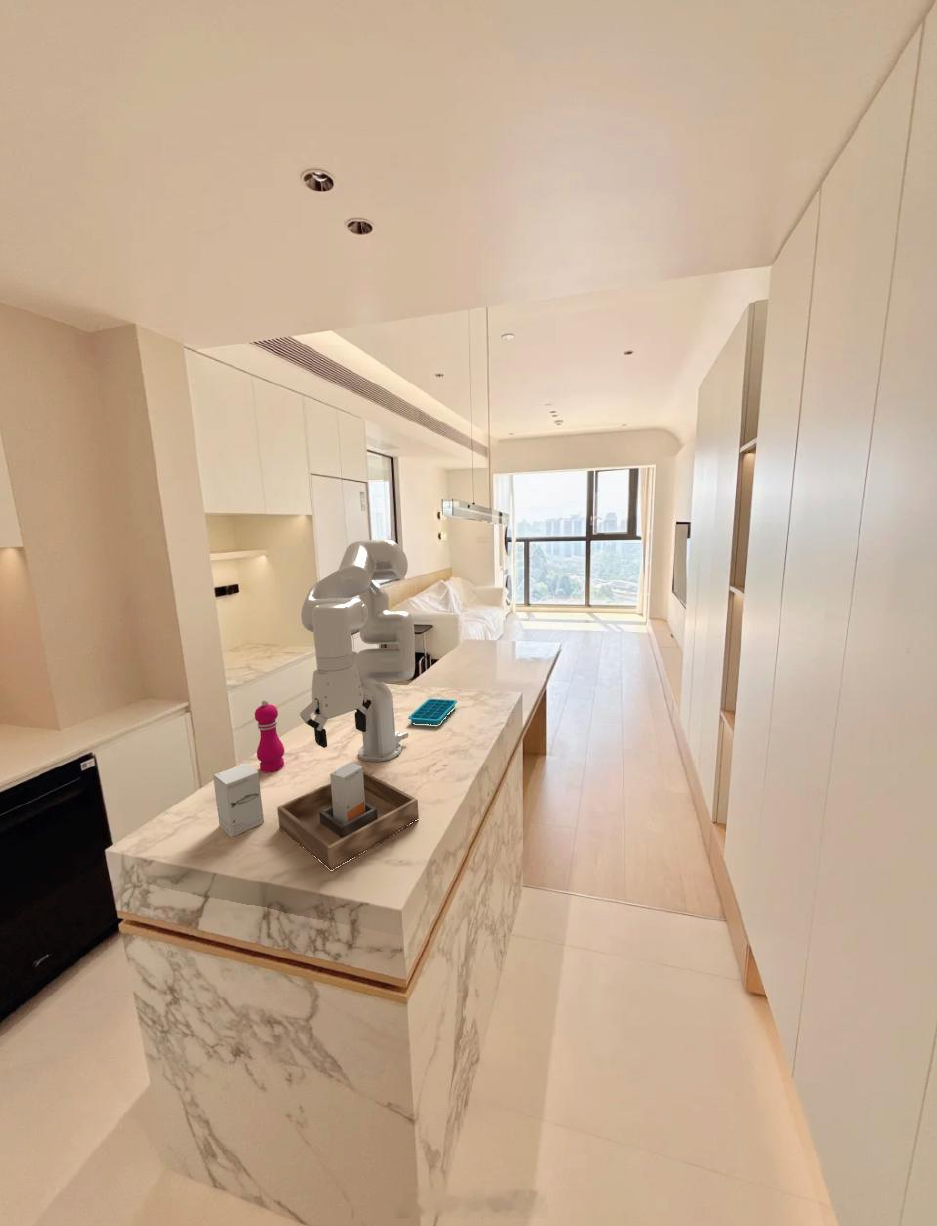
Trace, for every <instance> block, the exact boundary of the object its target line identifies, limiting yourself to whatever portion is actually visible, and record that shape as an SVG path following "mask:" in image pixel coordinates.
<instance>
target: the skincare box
mask: <svg viewBox="0 0 937 1226" xmlns="http://www.w3.org/2000/svg"><path fill="white" fill-rule="evenodd" d="M363 771H364V769H363V766H361V765H359V764H355V763H353V762H349V763H347V764H345V765H343V766H341V767H339V768H337V769H336V770H334V771H332V772H330V774H329V778H330V783H331V791H332V803H333V816H334V819H335V820H337V821H338V822H340V823H341V824H345V823H346V822H348V821H350V820H352V819H354V818H356V817H358V816H360V815H362V814H364V813H365V812H366V809H365V794H364V780H363Z"/></svg>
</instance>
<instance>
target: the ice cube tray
mask: <svg viewBox="0 0 937 1226" xmlns="http://www.w3.org/2000/svg"><path fill="white" fill-rule="evenodd" d="M457 703H458V700H456V699H446V698H445V699H443V698H428V699H427V700H425V701H424V702H423V703H422V704H421V705H420V706H419V707H418V708H417V709H415V710H414V711H413V712H412V713H411V714H410V715H409V716H408V717H407V719H408V720H410V721H411V724H412V723H415V724H429V725H430V724H431V725H438V724H440V723H441V721H442V720H443V719H444V718H445V717H446V716H447V714H448V713H449V712H450V711H451V710H452V709H453V708H454V707H455V708H456V704H457Z"/></svg>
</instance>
